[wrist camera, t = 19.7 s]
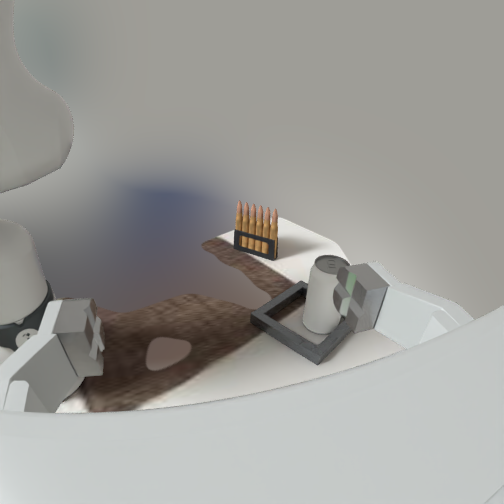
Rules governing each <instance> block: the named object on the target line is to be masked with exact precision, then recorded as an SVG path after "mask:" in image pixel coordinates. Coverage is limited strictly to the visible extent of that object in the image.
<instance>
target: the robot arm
mask: <svg viewBox="0 0 504 504" xmlns="http://www.w3.org/2000/svg"><path fill="white" fill-rule="evenodd" d="M13 12H14V0H0V193H3V192H6V191H9V190H12V189H16V188H19V187H22V186H25V185H28V184H30V183H32V182H34V181H36V180H38V179H40V178H42V177H44V176H46V175H48V174H50V173H52V172H54V171H56V170H58V169H60V168H61V167H62V165H63V164H64V162H65V160H66V159H67V157H68V154H69V152H70V149H71V146H72V142H73V135H74V124H73V118H72V115H71V112H70V109H69V107H68V105H67V104H66V102H65V101H64V100H63V98H62V97H61V96H60V95H58V94H57V93H56V92H55V91H53V90H51V89H49V88H47V87H45V86H44V85H42V84H41V83H39V82H38V81H37V80H36V79H35V78H34V77H33V76H32V75H31V74H30V73H29V72H28V70H27V69H26V68H25V66H24V65H23V63H22V61H21V59H20V57H19V55H18V52H17V49H16V45H15V40H14V31H13V30H14V29H13V14H14V13H13ZM336 278H337V280H338V282H339V283H338V284H337V285H336V287H335V288H334V292H333V302H334V306H335V308H336V310H337V311H338V312H339V313H340V314H342V315H344V316H346V319H345V322H346V323H347V324H348V326H349V327H350V328H351V330H352V331H353V332H354V333H358V332H362V331H366V330H370V329H374V330H375V331H377V332H379V333H381V334H382V335H384V336H386V337H387V338H389V339H391V340H392V341H394V342H396V343H397V344H399V345H401V346H402V347H404V348H406V349H405V350H403V351H400V352H397V353H395V354H392V355H389V356H386V357H384V358H381V359H378V360H375V361H372V362H369V363H366V364H363V365H360V366H357V367H354V368H350V369H347V370H344V371H341V372H337V373H334V374H330V375H327V376H323V377H320V378H316V379H313V380H309V381H305V382H301V383H297V384H293V385H289V386H285V387H281V388H277V389H272V390H268V391H263V392H258V393H254V394H249V395H244V396H239V397H233V398H228V399H222V400H216V401H210V402H204V403H197V404H190V405H182V406H174V407H166V408H156V409H146V410H134V411H120V412H99V413H55V412H56V410H57V409H58V407H59V406H60V404H61V403H62V401H63V400H64V399H65V398H67V397H68V396H69V395H71V394H72V393H73V392H74V391H75V390H76V389H77V388H78V387H79V386H80V384H81V383H82V381H83V380H84V378H85V376H98V375H103V361H104V359H103V356H102V353H101V352H102V351H103V350H104V349H105V335H104V329H103V325H102V321H101V319H99V318H98V317H97V316H96V315H97V306H96V303H95V301H94V299H93V298H83V299H69V300H56V298H55V295H54V292H53V290H52V288H51V286H50V284H49V282H48V281H47V280H46V279H45V277H44V274H43V271H42V268H41V265H40V261H39V258H38V255H37V251H36V247H35V244H34V241H33V238H32V236H31V235H30V233H29V232H28V231H27V230H26V229H25V228H24V227H22V226H21V225H19V224H17V223H15V222H12V221H8V220H3V219H0V504H504V305H503V306H501V307H499V308H497V309H495V310H493V311H491V312H489V313H487V314H485V315H483V316H481V317H479V318H477V319H474V318H473V317H472V316H470V315H469V314H468V313H467V312H466V311H465V310H464V309H463V308H462V307H461V306H460V305H459V304H458V303H456V302H453V301H450V300H448V299H445V298H443V297H440V296H438V295H435V294H432V293H429V292H427V291H424V290H422V289H419V288H417V287H414V286H411V285H409V284H406V283H403V284H402V283H401V282H400V281H399V280H397V279H396V278H395V277H394V276H393V275H392V274H391V273H390V272H389V271H388V270H386V269H385V268H384V267H383V266H382V265H381V264H380V263H379V262H376V261H373V262H367V263H363V264H359V265H352V266H346V267H340V269H339V270H338V272H337V277H336Z"/></svg>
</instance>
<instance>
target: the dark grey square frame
mask: <svg viewBox="0 0 504 504" xmlns="http://www.w3.org/2000/svg"><path fill="white" fill-rule="evenodd" d="M307 289H308V284H307V283H305V282H303V281H300V282H298V283H297V284H295V285H294V286H292V287H291V288H289V289H288V290H286V291H284V292H283V293H281V294H280V295H278V296H277V297H275V298H274V299H272V300H271V301H269V302H268V303H266V304H265V305H263V306H262V307H260V308H258V309H257V310H255V311H254V312H252V313H251V320H250V322H251V323H252V324H254V325H255V326H257V327H258V328H260V329H261V330H263V331H264V332H266V333H268V334H269V335H271V336H272V337H274V338H275V339H277V340H278V341H280V342H281V343H283V344H285V345H286V346H288V347H289V348H291V349H292V350H294V351H296V352H297V353H299V354H300V355H302V356H304V357H305V358H307V359H308V360H310V361H312V362H313V363H315V364H316V365H318V364H319V363H320V362H321V361H322V360H323V359H324V358H325V357H326V356H327V355H328V354H329V353H330V352H331V351H332V350H333V349H334V348H335V347H336V346H337V345H338V344H339V343H340V342H341V341H342V340H343V339H344V338H345V337H346V336H347V335H348V334H349V333H350V332H351V331H352V330H351V328H350V327H349V326H348V324H347V323H346V322H345V320H344V321H343V322H342V323H341V324H340V325H339V326H338V327H337V328H336V329H335V330H334V331H333V332H332V333H331V334H330V335H329V336H328V337H327V338H326V339H325V340H324V341H323V342H321V343H320V344H319V345H318V346H316V345H315V344H313V343H311V342H310V341H308V340H306V339H305V338H303V337H301V336H300V335H298V334H296V333H295V332H293V331H291V330H290V329H288V328H286V327H285V326H283V325H281V324H280V323H278V322H277V321H275V320H273V319H272V318H270V317H271V316H273V315H274V314H276V313H277V312H279V311H280V310H281V309H283V308H284V307H286V306H287V305H289V304H290V303H291V302H293V301H294V300H296V299H297V298H298V297H300V296H301V295H302V296H304V297H306V295H307ZM341 317H343V318H345V319H346V316H344V315H341Z"/></svg>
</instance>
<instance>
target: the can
mask: <svg viewBox="0 0 504 504" xmlns="http://www.w3.org/2000/svg"><path fill="white" fill-rule="evenodd" d="M346 266H350V264H349V263H348V262H347V261H346V260H345V259H343V258H341V257H338V256H334V255H323V256H319V257H317V258H316V259H315V263H314V265H313V266H312V268H311V271H310V277H309V283H308V289H307V295H306V301H305V307H304V313H303V323H304V325H305V326H306V328H307V329H309V330H310V331H312V332H314V333H316V334H329V333H331V332H333V331H334V330H335V329H336V328H337V327H338V326H339V323H340V319H341V315H342V314H340V313H339V312H338V311H337V310H336V308H335V306H334V302H333V292H334V288H335V287H336V285H337V284H338V283H339V282H338V280H337V278H336V277H337V272H338V270H339V269H340V267H346Z"/></svg>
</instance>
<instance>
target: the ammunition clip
mask: <svg viewBox="0 0 504 504" xmlns="http://www.w3.org/2000/svg"><path fill="white" fill-rule="evenodd" d="M277 220H278V215H277V210H276V209H275V210H274V212H273V216H272V223H271V225H270V210H269V207H268V208H267V209H266V213H265V220H264V224H263V209H262V206H260V207H259V210H258V217H257V221H256V208H255V204H253V205H252V208H251V216H250V219H249V207H248V203H247V202H246V204H245V207H244V215H243V216H242V204H241V201H239V203H238V206H237V216H236V229H235V231H234V249H237V250H240V251H243V252H246V253H250V254H253V255H256V256H259V257H262V258H266V259H269V260H272V261H273V260H275V259H276V258H277V250H278V237H277V234H278V225H277V223H278V221H277Z"/></svg>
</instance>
